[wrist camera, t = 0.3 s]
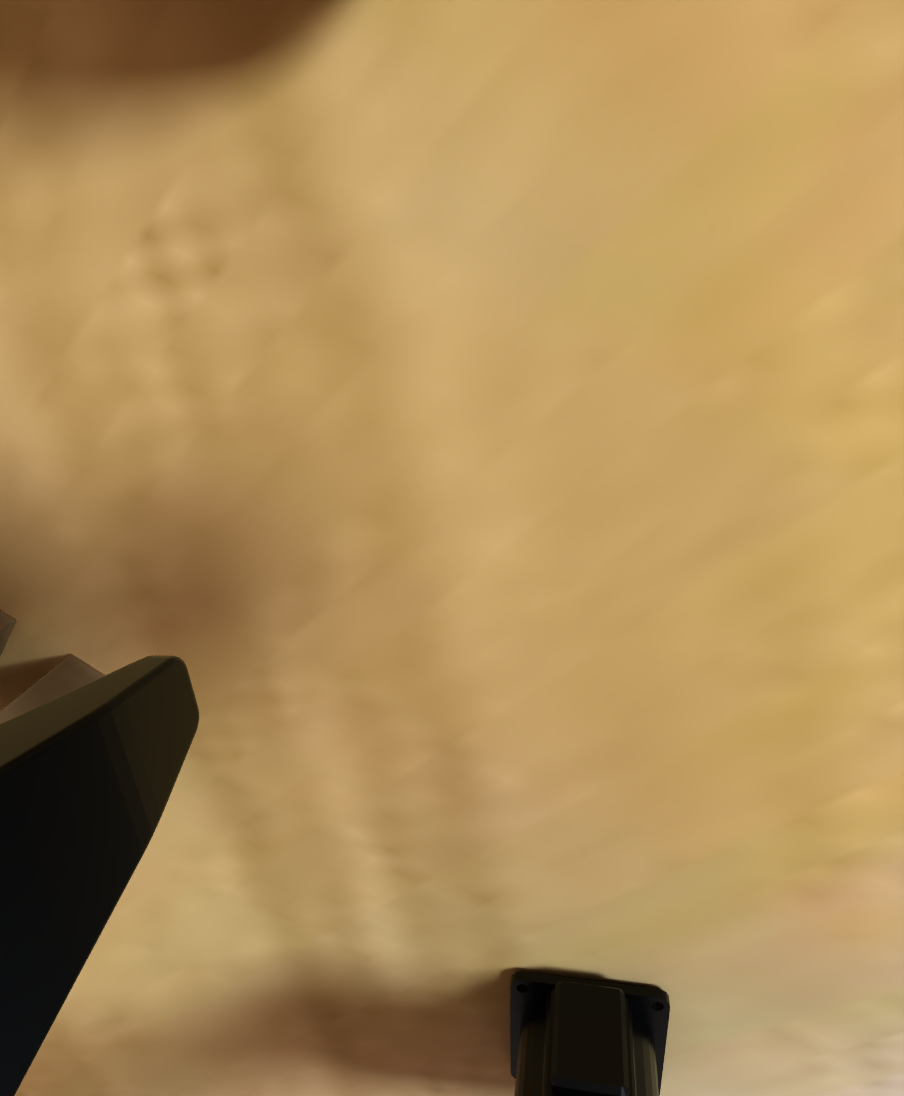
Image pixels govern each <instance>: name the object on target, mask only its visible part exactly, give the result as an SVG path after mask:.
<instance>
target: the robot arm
mask: <svg viewBox="0 0 904 1096" xmlns="http://www.w3.org/2000/svg"><path fill="white" fill-rule="evenodd" d="M198 722H199V710H198V706H197V702H196V698H195V695H194V691H193V688H192V684H191V681H190V677H189V674H188V670H187V667H186V664H185V663H184V661H183V660H182V659H181V658H179V657H177V656H147V657H145V658H142V659H140V660H138V661H136V662H134V663H132V664H129V665H127V666H125V667H123V668H121V669H119V670H116V671H114V672H112V673H110V674H108V675H106V676H103V677H101V678H99V679H97V680H95V681H93V682H90V683H88V684H86V685H84V686H82V687H80V688H77V689H75V690H73V691H71V692H69V693H67V694H64V695H62V696H60V697H58V698H56V699H54V700H51V701H49V702H47V703H45V704H43V705H41V706H38V707H36V708H34V709H32V710H30V711H28V712H25V713H23V714H21V715H19V716H17V717H15V718H12V719H10V720H8V721H6V722H4V723H2V724H0V1096H14V1095H15V1093H16V1091H17V1090H18V1088H19V1086H20V1084H21V1082H22V1080H23V1078H24V1076H25V1075H26V1073H27V1071H28V1069H29V1067H30V1065H31V1063H32V1061H33V1060H34V1058H35V1056H36V1054H37V1052H38V1050H39V1048H40V1047H41V1045H42V1043H43V1041H44V1039H45V1037H46V1035H47V1033H48V1032H49V1030H50V1028H51V1026H52V1024H53V1022H54V1020H55V1018H56V1017H57V1015H58V1013H59V1011H60V1009H61V1007H62V1005H63V1004H64V1002H65V1000H66V998H67V996H68V994H69V992H70V990H71V989H72V987H73V985H74V983H75V981H76V979H77V977H78V975H79V974H80V972H81V970H82V968H83V966H84V964H85V962H86V960H87V959H88V957H89V955H90V953H91V951H92V949H93V947H94V946H95V944H96V942H97V940H98V938H99V936H100V934H101V932H102V931H103V929H104V927H105V925H106V923H107V921H108V919H109V917H110V916H111V914H112V912H113V910H114V908H115V906H116V904H117V902H118V901H119V899H120V897H121V895H122V893H123V891H124V889H125V888H126V886H127V884H128V882H129V880H130V878H131V876H132V874H133V873H134V871H135V869H136V867H137V865H138V863H139V861H140V859H141V858H142V856H143V854H144V852H145V850H146V848H147V846H148V844H149V842H150V840H151V838H152V836H153V834H154V832H155V829H156V827H157V825H158V823H159V820H160V818H161V816H162V813H163V811H164V809H165V806H166V804H167V801H168V799H169V796H170V794H171V792H172V789H173V787H174V784H175V782H176V779H177V777H178V774H179V772H180V770H181V767H182V765H183V762H184V760H185V757H186V755H187V753H188V750H189V748H190V745H191V743H192V740H193V738H194V735H195V733H196V730H197V727H198ZM669 1012H670V1003H669V996H668V994H667V993H666V992H665V991H663V990H660V989H655V988H647V987H640V986H632V985H624V984H616V983H608V982H600V981H592V980H585V979H577V978H569V977H561V976H553V975H545V974H538V973H530V972H516V973H514V974H513V975H512V978H511V1075H512V1076H513V1077H514V1078H515V1079H516V1083H515V1095H514V1096H659V1095H660V1088H661V1079H662V1071H663V1063H664V1054H665V1046H666V1037H667V1029H668V1021H669Z"/></svg>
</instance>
